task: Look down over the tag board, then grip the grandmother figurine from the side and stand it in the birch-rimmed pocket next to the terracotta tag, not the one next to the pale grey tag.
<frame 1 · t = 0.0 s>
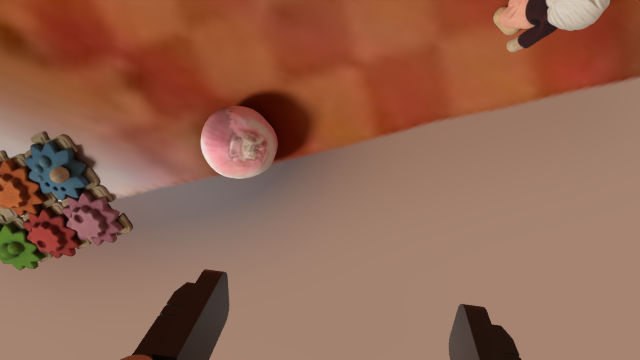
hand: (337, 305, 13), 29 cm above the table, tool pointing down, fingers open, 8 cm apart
gear puzzle: (20, 211, 53), on the table
onion: (248, 132, 43), on the table
grandmother figurine: (517, 0, 34), on the table
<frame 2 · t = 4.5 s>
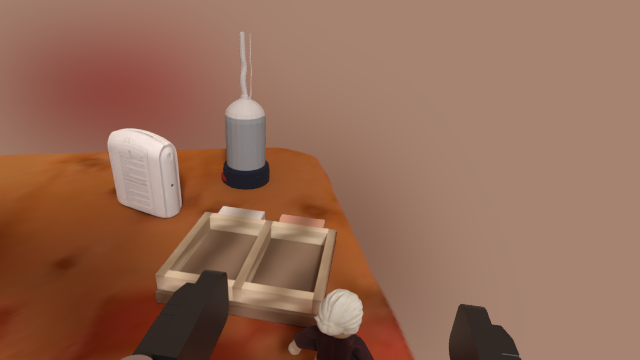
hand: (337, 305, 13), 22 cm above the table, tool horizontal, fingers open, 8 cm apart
photo printer: (151, 208, 59), on the table
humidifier: (246, 179, 69), on the table
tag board: (257, 267, 48), on the table
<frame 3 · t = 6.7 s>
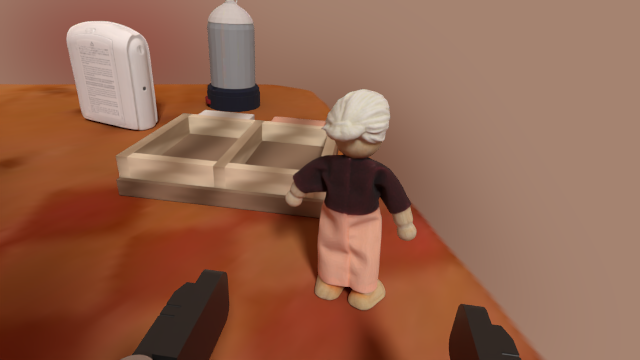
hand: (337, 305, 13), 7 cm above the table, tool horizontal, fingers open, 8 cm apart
photo printer: (121, 123, 50), on the table
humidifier: (234, 105, 61), on the table
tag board: (246, 168, 40), on the table
grandmother figurine: (340, 289, 25), on the table
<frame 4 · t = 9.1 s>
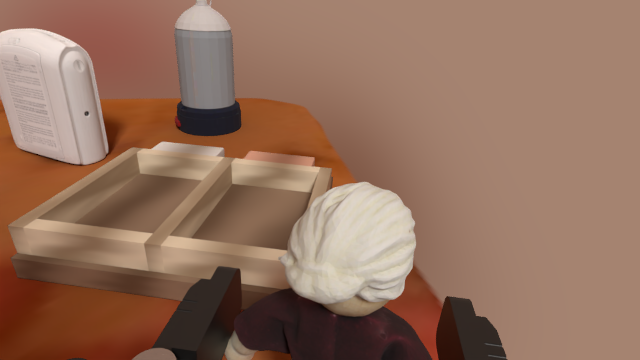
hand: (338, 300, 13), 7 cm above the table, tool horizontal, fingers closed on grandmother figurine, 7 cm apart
photo printer: (64, 154, 41), on the table
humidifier: (210, 127, 51), on the table
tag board: (207, 225, 30), on the table
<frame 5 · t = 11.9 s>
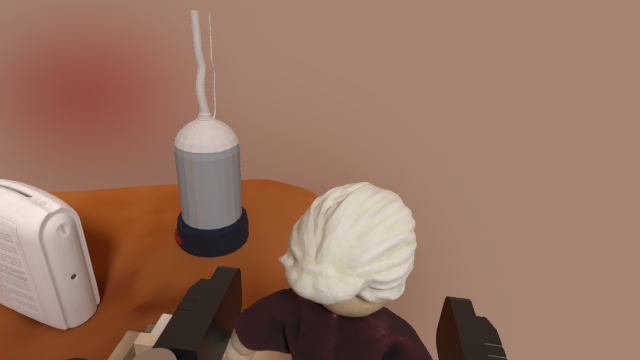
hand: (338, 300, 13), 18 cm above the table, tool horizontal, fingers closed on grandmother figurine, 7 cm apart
photo printer: (49, 304, 35), on the table
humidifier: (214, 237, 46), on the table
when the fingers open (10 cm above the table, at t = 14.9 s): grandmother figurine drops 1 cm, resting on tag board.
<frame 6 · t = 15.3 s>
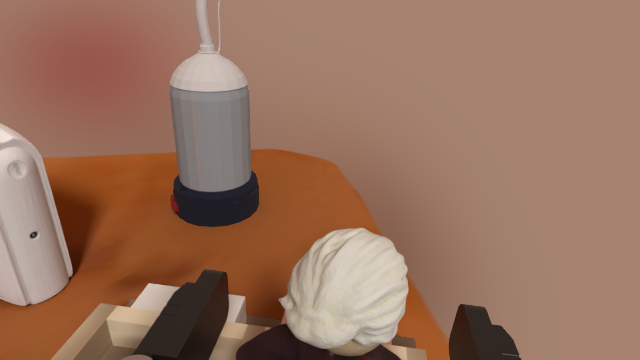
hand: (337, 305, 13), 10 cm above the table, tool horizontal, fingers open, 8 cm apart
photo printer: (9, 277, 28), on the table
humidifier: (218, 206, 39), on the table
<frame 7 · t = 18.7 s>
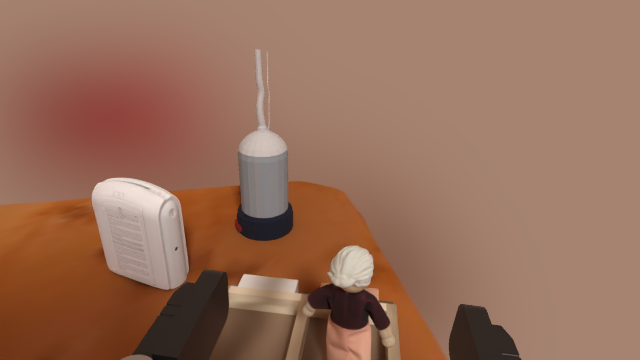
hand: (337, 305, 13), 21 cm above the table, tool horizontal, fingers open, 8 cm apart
photo printer: (150, 274, 46), on the table
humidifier: (265, 226, 57), on the table
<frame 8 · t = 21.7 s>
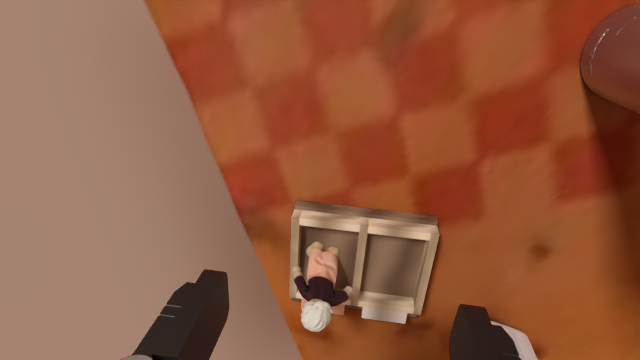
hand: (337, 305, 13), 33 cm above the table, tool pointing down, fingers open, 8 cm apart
photo printer: (488, 328, 56), on the table
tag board: (358, 257, 53), on the table
grandmother figurine: (327, 252, 51), point 1 cm above the table, touching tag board
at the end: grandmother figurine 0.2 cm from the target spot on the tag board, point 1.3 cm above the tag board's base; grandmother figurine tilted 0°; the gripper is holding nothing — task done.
